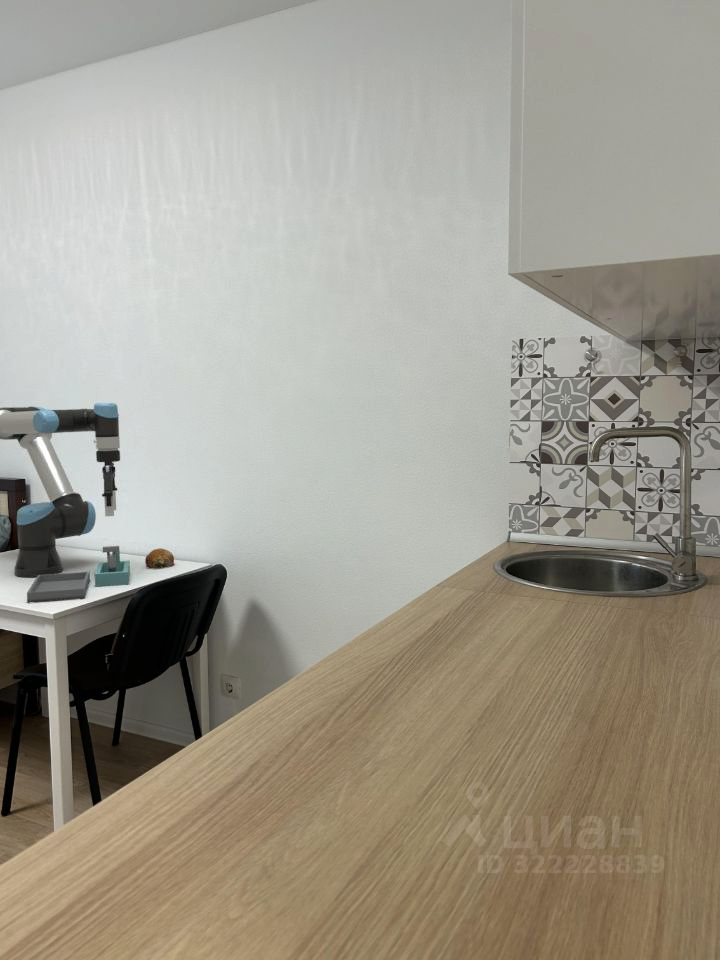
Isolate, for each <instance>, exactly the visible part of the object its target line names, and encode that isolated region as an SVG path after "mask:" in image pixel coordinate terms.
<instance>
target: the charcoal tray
mask: <svg viewBox="0 0 720 960" xmlns="http://www.w3.org/2000/svg"><path fill="white" fill-rule="evenodd" d="M90 575H91V572H90V571H78V572H65V573H63V572H62V573H56V574H47V575H38V576H37V577H35V579H34V581H33V583H32V584H31V586H30V587H29V589H28V590H27V592H26V602H34V603H43V602H44V603H45V602H47V603H48V602H56V601H57V602H58V601H59V602H60V601H71V600H84V599H85V598H86V594H87V592H88V588H89V586H90V582H91V576H90Z"/></svg>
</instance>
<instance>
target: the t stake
mask: <svg viewBox="0 0 720 960" xmlns="http://www.w3.org/2000/svg"><path fill="white" fill-rule="evenodd" d="M119 549H120V545H111V546H110V545H109V546H108V545H107V546H102V553H106V557H107V556H108V572H116V559H115V552H119Z"/></svg>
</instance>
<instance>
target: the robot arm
mask: <svg viewBox="0 0 720 960" xmlns="http://www.w3.org/2000/svg"><path fill="white" fill-rule="evenodd" d="M118 408H119V407H118V405H117V403H115V402H101V403H100V402H96V403H95V404H94V405H93V408H80V409H77V408H76V409H75V408H74V409H73V408H72V409H45V408H43V407H39V406H26V407H23V406H22V407H19V406H17V407H16V406H14V407H7V406H6V407H0V440H3V441H4V440H5V441H7V440H11V441H12V440H17V442H18V444H19V446H20V447H21V448H22V449H25V450H26V451H27V454H28V455H29V457H30V459H31V462H32V464H33V466H34V468H35V470H36V473H37V475H38V477H39V479H40V482H41V484H42V487H43V488H44V490H45V493H46V495H47V497H48V499H49V501H44V502H43V501H42V502H35V503H31V504H28V505H23V506H22V507H20V508H19V509H18V510H17V513H16V514H17V515H16V524H17V525H16V526H17V538H18V539H17V540H18V554H17V558H16V562H15V565H14V576H16V577H21V578H37V576H38V575H47V574H60V573H61V572H63V571H64V570H63V563H62V560H61V558H60V555H59V552H58V550H57V546H56V545H57V544H56V543H57V542H56V541H57V540H60V539H65V538H72V537H80V536H82V535H86V534H89V533H90V532H91V531H92V530H93V529H94V527H95V524H96V518H97V515H96V510H95V506H94V505H93V503H92V501H91V502H90V501H88V500H83V498H82V497H83V496H81V494H80V493H79V492H76V491H74V488H73V486H72V485H71V482H70V481H69V478H68V476H67V474H66V472H65V469H64V467H63V465H62V462H61V461H60V458H59V457H58V454H57V452H56V450H55V448H54V446H53V444H52V441H51V439H52V436H53V434H58V433H59V434H60V433H61V434H62V433H81V432H84V433H85V432H94V435H95V436H94V437H95V439H94V440H93V443H94V444H95V449H97V450H96V452H95V457H96V462H98V463H104V465H103V467H102V468H101V469H102V471H101V472H102V479H103V493H102V494H101V497H103V498H104V517H114V516H115V511H117V500H116V499H117V496H116V495H117V494H116V492H117V491H118V487H116V480H115V478H116V466H115V463H116V462H120V461H121V451H120V450H119V449H120V447H121V445H120V443H121V442H120V427H119V426H120V423H119V421H120V420H119V416H120V414H119V410H118Z"/></svg>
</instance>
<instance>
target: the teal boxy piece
mask: <svg viewBox="0 0 720 960" xmlns="http://www.w3.org/2000/svg"><path fill="white" fill-rule="evenodd" d="M120 554H121V552H120V548H119V552H115V559H116V572H108V556H107V555H106V560H107V561H103V562H102V561H101V562H98V563H97V566H96V569H95V572H94V584H95V585H94V587H95V588H97V587H99V588H100V587H111V586H123V585H124V586H125V585H129V583H130V575H131V567H130V560H121V555H120Z"/></svg>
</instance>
